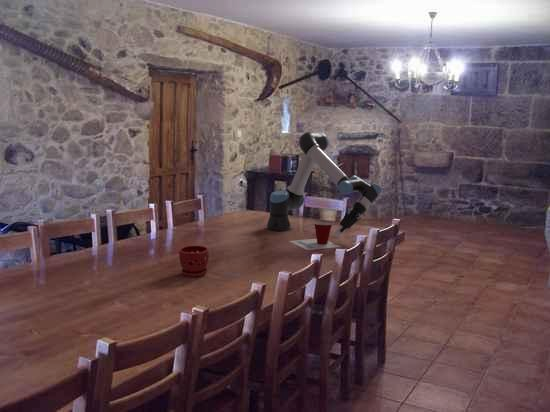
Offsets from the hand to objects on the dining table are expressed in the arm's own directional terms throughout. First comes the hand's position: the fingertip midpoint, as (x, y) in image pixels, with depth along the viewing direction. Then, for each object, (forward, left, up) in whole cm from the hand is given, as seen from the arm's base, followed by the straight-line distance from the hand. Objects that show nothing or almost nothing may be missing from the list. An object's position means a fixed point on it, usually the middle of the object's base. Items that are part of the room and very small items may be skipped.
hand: (335, 235), depth 329 cm
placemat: (0, -14, -4) cm, 14 cm away
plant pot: (+33, -96, -4) cm, 101 cm away
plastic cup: (0, -9, -4) cm, 10 cm away
